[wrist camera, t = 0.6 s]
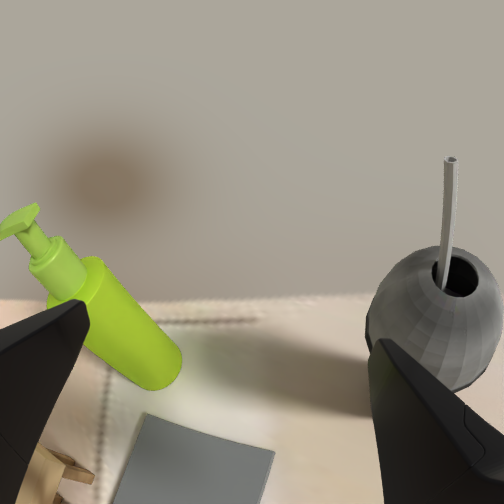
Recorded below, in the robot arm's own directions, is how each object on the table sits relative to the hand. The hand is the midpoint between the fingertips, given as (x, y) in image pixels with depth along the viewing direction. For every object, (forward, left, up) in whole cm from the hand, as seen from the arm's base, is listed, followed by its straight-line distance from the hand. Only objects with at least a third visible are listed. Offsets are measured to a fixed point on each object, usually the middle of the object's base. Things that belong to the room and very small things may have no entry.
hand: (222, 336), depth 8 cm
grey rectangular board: (-10, +7, -18) cm, 21 cm away
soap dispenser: (+3, +16, -18) cm, 24 cm away
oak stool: (-14, +19, -18) cm, 30 cm away
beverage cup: (+4, -8, -18) cm, 20 cm away
